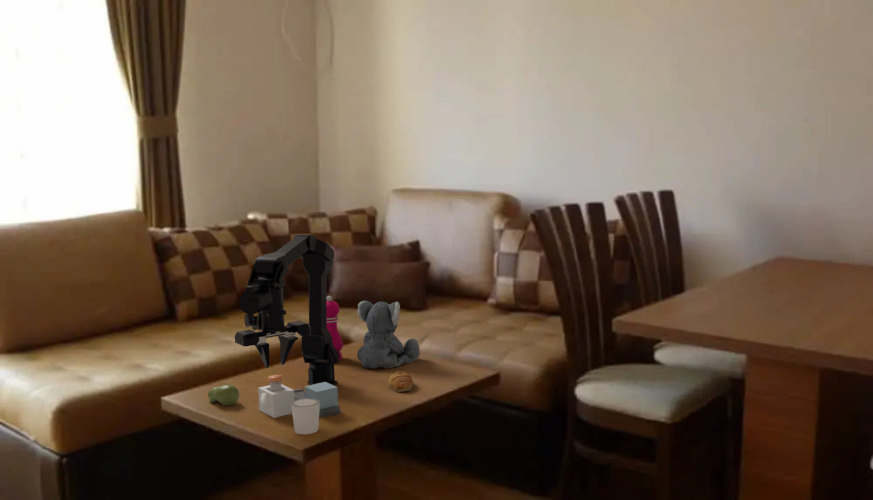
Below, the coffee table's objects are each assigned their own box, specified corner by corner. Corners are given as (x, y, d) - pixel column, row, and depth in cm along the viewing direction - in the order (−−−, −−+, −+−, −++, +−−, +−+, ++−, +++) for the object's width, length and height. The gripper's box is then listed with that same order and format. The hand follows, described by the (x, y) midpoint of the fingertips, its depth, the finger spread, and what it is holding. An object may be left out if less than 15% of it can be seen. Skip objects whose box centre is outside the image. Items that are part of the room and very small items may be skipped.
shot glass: (293, 426, 218) (291, 398, 217) (321, 424, 219) (320, 397, 218) (291, 436, 211) (289, 407, 210) (320, 434, 212) (319, 406, 211)
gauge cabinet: (280, 405, 234) (279, 382, 233) (295, 412, 228) (294, 390, 227) (257, 410, 230) (256, 387, 229) (272, 418, 224) (271, 395, 223)
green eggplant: (224, 388, 231) (201, 387, 237) (228, 408, 231) (204, 407, 238) (241, 382, 235) (218, 382, 242) (245, 402, 236) (221, 401, 242)
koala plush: (423, 359, 274) (422, 297, 271) (390, 374, 259) (388, 308, 256) (378, 352, 284) (376, 292, 281) (343, 366, 269) (340, 302, 266)
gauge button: (279, 395, 231) (278, 373, 230) (286, 399, 228) (285, 376, 227) (266, 398, 229) (265, 376, 228) (273, 402, 226) (272, 379, 225)
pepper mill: (339, 362, 272) (336, 298, 269) (316, 362, 274) (313, 298, 271) (346, 356, 279) (344, 293, 276) (324, 355, 281) (321, 293, 278)
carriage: (326, 405, 233) (325, 381, 232) (338, 410, 228) (337, 387, 227) (305, 410, 229) (304, 386, 228) (317, 416, 224) (316, 391, 224)
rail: (301, 394, 242) (301, 388, 242) (340, 413, 227) (340, 406, 226) (284, 398, 239) (284, 392, 239) (322, 417, 223) (322, 411, 223)
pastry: (417, 392, 243) (416, 379, 242) (392, 395, 241) (392, 381, 241) (410, 382, 252) (409, 369, 251) (386, 384, 250) (386, 371, 250)
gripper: (289, 295, 237) (292, 353, 239) (223, 306, 225) (227, 366, 228) (310, 302, 228) (313, 361, 230) (243, 313, 217) (246, 376, 219)
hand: (274, 366), depth 227 cm, fingers open, 4 cm apart
